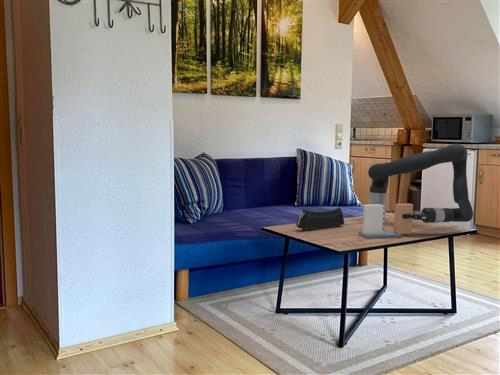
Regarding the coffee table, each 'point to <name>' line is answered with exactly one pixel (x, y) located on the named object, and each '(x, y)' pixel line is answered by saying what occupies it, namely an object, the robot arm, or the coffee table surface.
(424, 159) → the robot arm
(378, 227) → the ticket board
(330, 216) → the magazine
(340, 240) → the coffee table surface
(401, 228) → the brown rectangular block
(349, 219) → the coffee table surface
